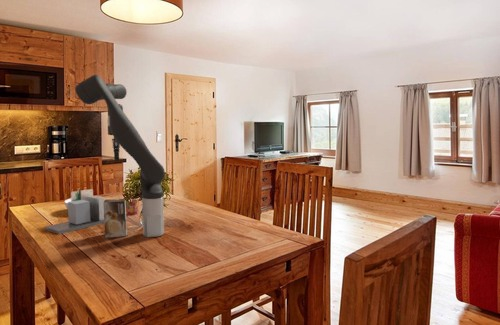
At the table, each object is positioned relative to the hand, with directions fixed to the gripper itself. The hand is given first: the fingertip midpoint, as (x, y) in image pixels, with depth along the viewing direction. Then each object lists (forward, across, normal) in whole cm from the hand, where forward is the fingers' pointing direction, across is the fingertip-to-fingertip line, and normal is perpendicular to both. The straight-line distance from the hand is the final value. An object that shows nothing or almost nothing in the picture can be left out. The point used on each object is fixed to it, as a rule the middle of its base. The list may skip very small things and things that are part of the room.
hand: (116, 160), depth 175 cm
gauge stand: (+32, 0, -20) cm, 38 cm away
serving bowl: (+32, -32, -18) cm, 49 cm away
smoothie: (+32, -17, +7) cm, 37 cm away
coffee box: (+32, +21, -1) cm, 38 cm away
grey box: (+30, -1, -18) cm, 35 cm away
